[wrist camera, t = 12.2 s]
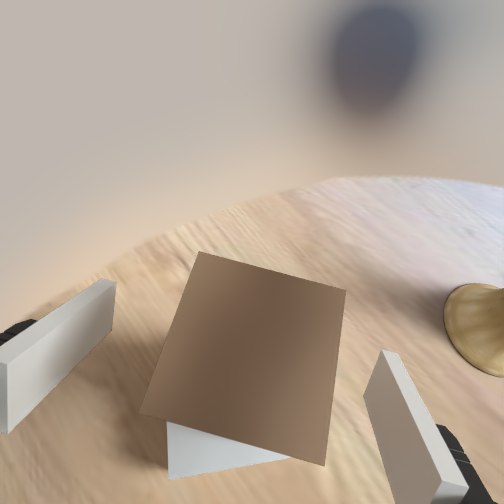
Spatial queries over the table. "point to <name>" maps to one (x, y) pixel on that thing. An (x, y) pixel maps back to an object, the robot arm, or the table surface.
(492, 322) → the hand bell
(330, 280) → the table surface
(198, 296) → the walnut block
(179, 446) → the white block
